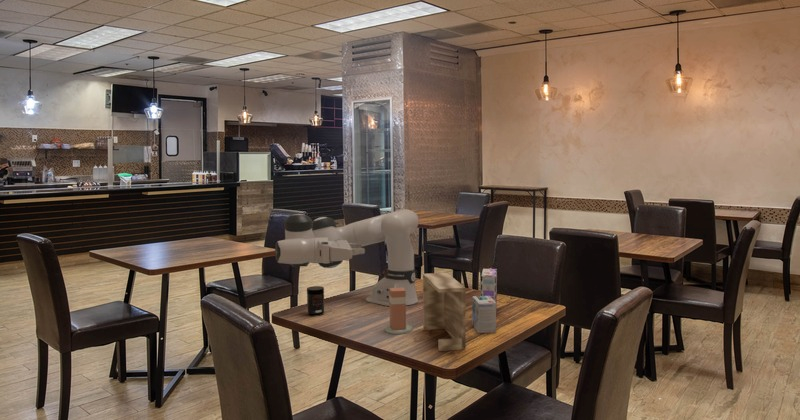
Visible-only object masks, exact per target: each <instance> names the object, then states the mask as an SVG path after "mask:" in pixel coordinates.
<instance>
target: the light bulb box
mask: <svg viewBox="0 0 800 420" xmlns="http://www.w3.org/2000/svg"><path fill="white" fill-rule="evenodd" d="M471 299H472V300H471V301H472V302H471V303H472V304H471V305H472V306H471V312H472V313H471V319H472V320H471V325H472V327H474V329H475V331H476V333H477V334H484V333H485V334H486V333H487V334H489V333H490V334H493V333H497V309H496V302H495V301H494V300H493V299H492V298H491V297H490V296H481V295H474V296H472V297H471Z"/></svg>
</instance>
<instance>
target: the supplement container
mask: <svg viewBox="0 0 800 420" xmlns="http://www.w3.org/2000/svg"><path fill="white" fill-rule="evenodd" d="M306 303H307V311H306V312H307V315H309V314H310V315H309V316H311V315H319V316H321V315H320V314H322V315H324V314H325V288H324V286H322V285H321V286H319V285H315V286H314V285H313V286H309V287H308V286H307V288H306ZM323 313H324V314H323Z"/></svg>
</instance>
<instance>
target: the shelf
mask: <svg viewBox="0 0 800 420" xmlns="http://www.w3.org/2000/svg"><path fill="white" fill-rule="evenodd" d="M422 296H423V297H422V310H423V311H422V312H423V313H422V317H423V318H422V319H423V320H422V321H423V322H422V323H423V325H422V326H423V328H422V329H423V331H431V330H445V331H446V332H447V333H448V335H449V336H450V337H451V338H438V340H437V341H438V343H437V345H438V346H437V347H438V348H437V349H438V352H445V351H446V352H447V351H448V352H449V351H458V350H466V341H467V339H466V338H467V337H466V336H467V335H466V331H467V330H466V325H467V324H466V321H467V320H466V319H467V318H466V317H467V315H466V287H465V286H464V285H463V284H461V283H460V282H459V281H458V279H457V280H456V278H454V277H453V276H452V275H450V274H449V273H448V272H433V273H432V272H431V273H422Z"/></svg>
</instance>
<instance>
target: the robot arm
mask: <svg viewBox="0 0 800 420" xmlns="http://www.w3.org/2000/svg"><path fill="white" fill-rule="evenodd" d="M419 222H420V221H419V215H417V213H416V212H415V211H413V210H411V209H406V208H405V209H404V208H403V209H398V210H395V211H392V212H388V213H385V214H381V215H376V216H373V217H370V218H365V219H362V220H359V221H355V222H354V221H353V222H352V223H348V224H346V225H343V226H340V227H338V226H337V225H339V224H340V223H339V222H336V220H334V219H333V218H331V217H327V216H320V217H318V218H315V219H314V220H313V219H312V218H311V217H310V216H308V215H305V214H303V213H294V214H291V215H289V216H287V218H286V219H285V220H284V222H283V223H284V224H283V225H284V239H282V240H278V241H276V243H275V245H274V246H275V247H274V255H275V260H276V261H277V263H278V264H286V265H287V264H288V265H290V266H291V267H293V268H296V267H308V266H309V264H318V266H320V267H322V268H323V269H324V268H325V269H334V268H336V267H338V266H340V264H342V263H343V261H349V260H352V259H353V256H356V255H357V256H358V255H365V253H366V249H365V247H366V246H369V245H374V244H378V243H382V242H385V244H386V250H387V268H386V269H384V270H383V271H382V274H384V276H383V277H382V278H381V279H380V280H379V281H377V282H376V283H375V284H374V285H373V286H372V289H371V291H370V292H371V294H370V295H368V296H367V297H366V298H365V302H367V303H372V304H377V305H382V306H386V307H390V301H389V288H401V287H403V288H404V289H405V291H406V306H409V305H410V306H411V305H414V304H415V305H416V304H417V303H418V302H419V298H418V295H417V291H416V290H417V289H416V268H415V251H414V248H413V246H412V242H411V235H410V234H412V233H414V232H415V231H416V229H417V228H418V226H419Z"/></svg>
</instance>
